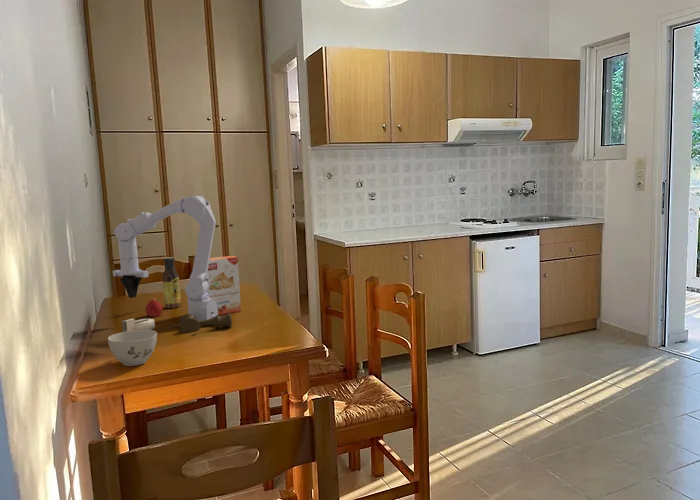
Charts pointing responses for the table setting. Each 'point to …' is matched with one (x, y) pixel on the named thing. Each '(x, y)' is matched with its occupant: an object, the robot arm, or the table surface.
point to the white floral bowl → (133, 346)
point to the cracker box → (224, 284)
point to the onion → (153, 308)
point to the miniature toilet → (138, 324)
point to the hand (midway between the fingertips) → (132, 297)
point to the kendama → (202, 322)
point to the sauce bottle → (171, 284)
